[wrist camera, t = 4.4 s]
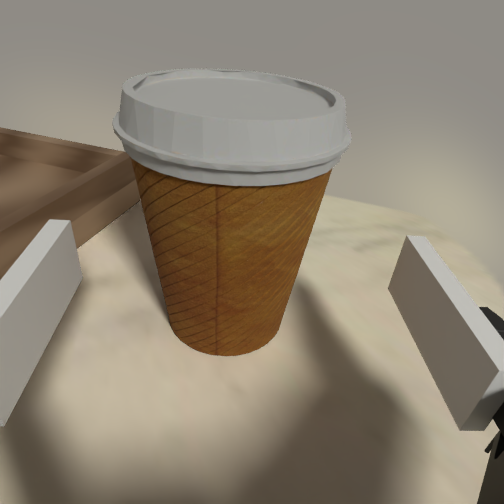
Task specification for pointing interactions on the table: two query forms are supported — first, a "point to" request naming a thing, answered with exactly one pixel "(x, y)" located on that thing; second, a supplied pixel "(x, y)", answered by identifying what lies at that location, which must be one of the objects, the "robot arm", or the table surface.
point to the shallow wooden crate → (58, 189)
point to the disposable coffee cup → (229, 192)
